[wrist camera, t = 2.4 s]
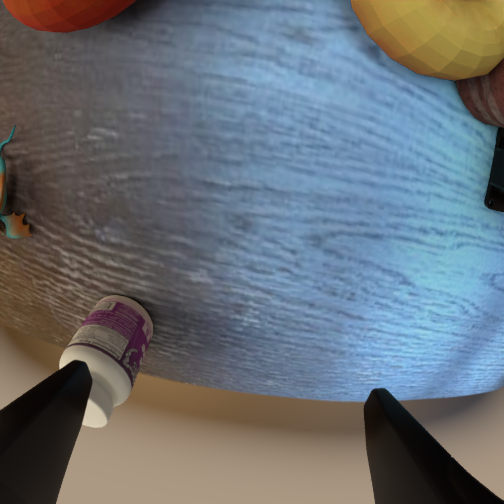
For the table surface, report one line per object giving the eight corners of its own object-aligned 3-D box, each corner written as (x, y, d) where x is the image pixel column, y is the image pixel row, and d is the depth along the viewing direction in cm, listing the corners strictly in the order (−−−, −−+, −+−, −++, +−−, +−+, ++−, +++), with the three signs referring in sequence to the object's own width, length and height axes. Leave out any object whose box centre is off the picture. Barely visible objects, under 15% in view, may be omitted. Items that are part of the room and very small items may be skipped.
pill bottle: (149, 352, 26) (116, 444, 17) (94, 330, 25) (47, 413, 16) (161, 306, 23) (120, 405, 15) (99, 282, 23) (37, 367, 14)
